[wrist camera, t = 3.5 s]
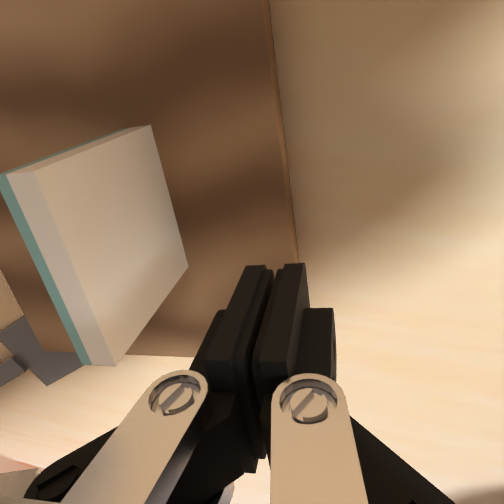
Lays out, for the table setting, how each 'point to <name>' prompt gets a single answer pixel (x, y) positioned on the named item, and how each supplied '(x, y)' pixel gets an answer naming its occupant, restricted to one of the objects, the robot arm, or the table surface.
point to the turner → (33, 356)
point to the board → (165, 134)
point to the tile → (100, 237)
